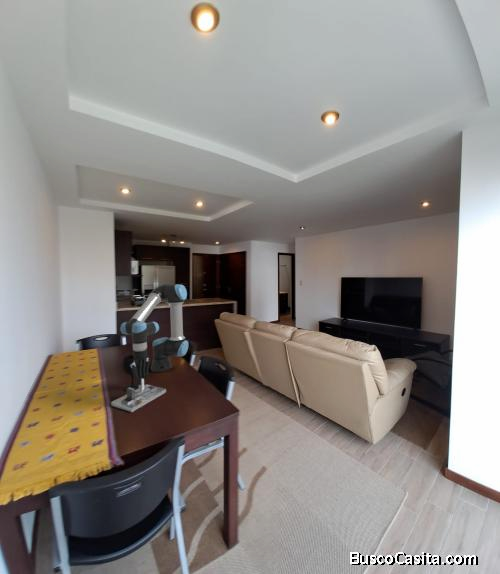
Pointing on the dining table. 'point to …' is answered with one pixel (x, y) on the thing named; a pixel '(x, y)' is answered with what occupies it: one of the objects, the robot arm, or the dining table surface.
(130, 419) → the dining table surface
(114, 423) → the dining table surface
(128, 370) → the wine glass
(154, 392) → the console
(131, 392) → the fader knob
